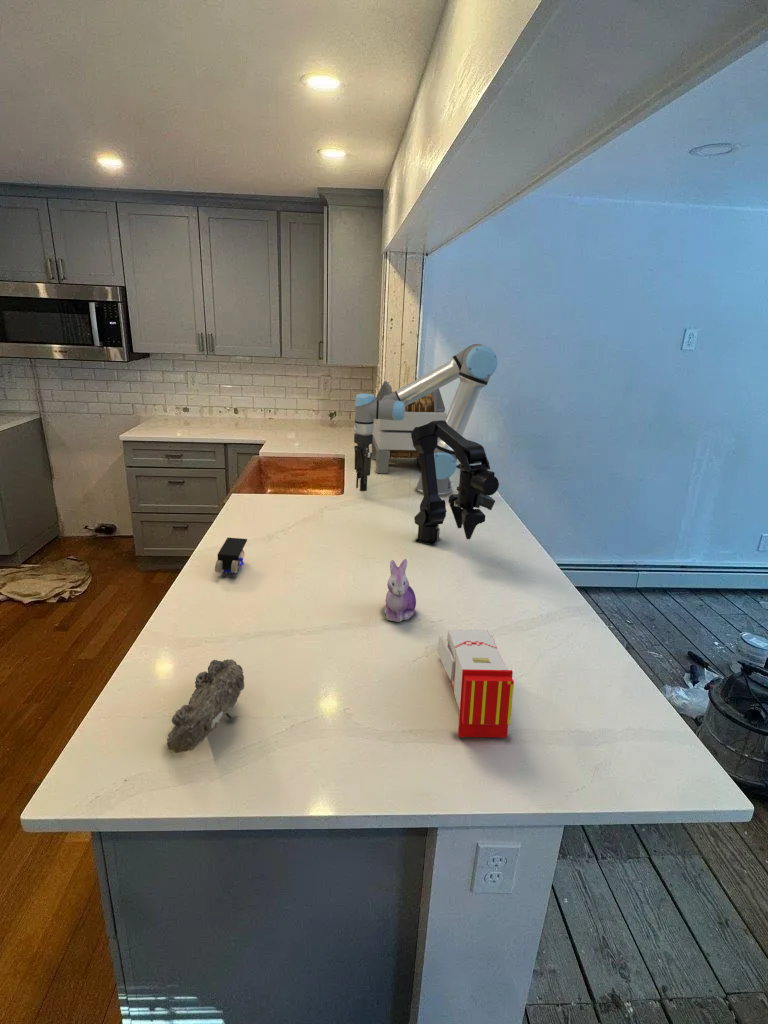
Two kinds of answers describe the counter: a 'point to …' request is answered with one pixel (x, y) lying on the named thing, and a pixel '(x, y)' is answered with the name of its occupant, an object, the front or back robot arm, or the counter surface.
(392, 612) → the figurine
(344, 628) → the counter surface
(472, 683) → the toy
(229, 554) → the black toy vehicle
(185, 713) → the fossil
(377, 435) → the grey crate
